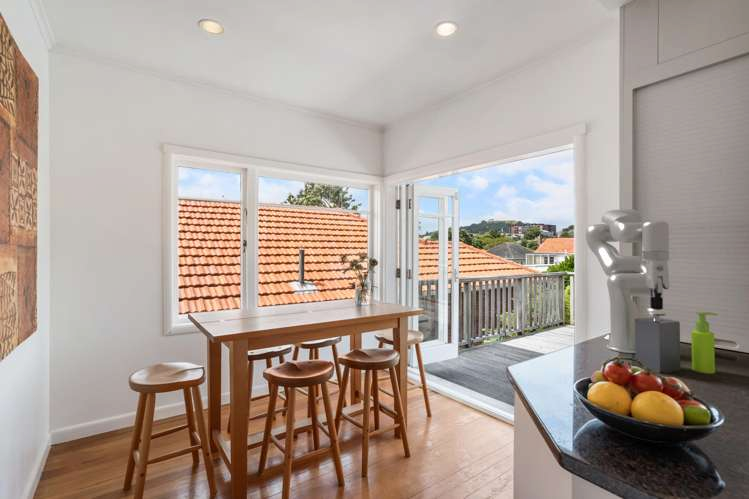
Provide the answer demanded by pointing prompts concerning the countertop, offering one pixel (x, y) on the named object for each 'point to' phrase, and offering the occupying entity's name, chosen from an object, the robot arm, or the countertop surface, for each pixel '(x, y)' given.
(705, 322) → the soap dispenser
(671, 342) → the block
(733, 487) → the countertop surface
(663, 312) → the plunger
